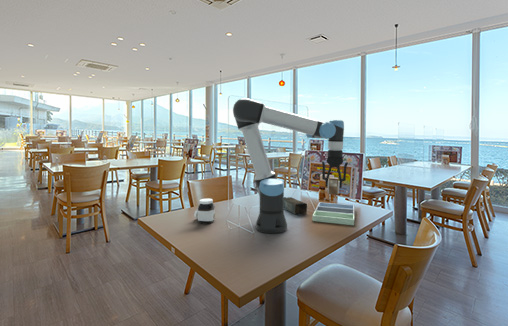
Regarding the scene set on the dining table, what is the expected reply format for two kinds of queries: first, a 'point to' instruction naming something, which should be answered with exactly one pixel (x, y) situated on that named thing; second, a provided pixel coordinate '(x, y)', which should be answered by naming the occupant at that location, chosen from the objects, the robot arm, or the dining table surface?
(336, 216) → the pale green tray
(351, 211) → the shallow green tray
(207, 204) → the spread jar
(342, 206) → the grey tray
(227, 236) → the dining table surface
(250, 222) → the dining table surface
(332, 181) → the letter block
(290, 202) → the beverage carton
